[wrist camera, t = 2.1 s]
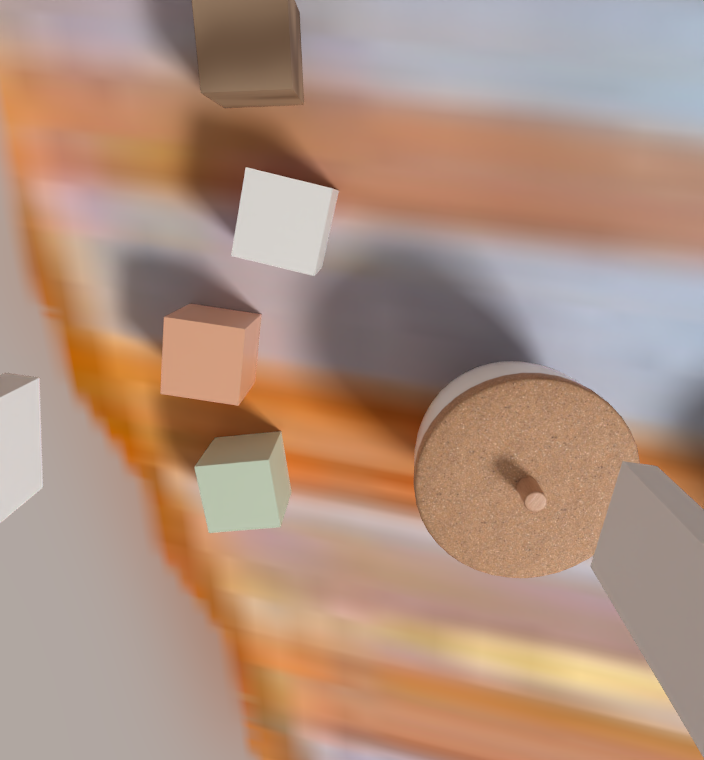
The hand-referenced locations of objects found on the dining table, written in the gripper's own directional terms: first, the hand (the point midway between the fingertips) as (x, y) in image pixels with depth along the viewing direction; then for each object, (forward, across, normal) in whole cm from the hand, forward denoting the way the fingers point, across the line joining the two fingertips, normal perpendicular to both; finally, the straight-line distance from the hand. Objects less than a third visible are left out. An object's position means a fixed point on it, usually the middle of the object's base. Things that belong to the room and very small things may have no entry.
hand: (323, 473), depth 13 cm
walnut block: (+27, -8, +13) cm, 31 cm away
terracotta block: (+27, -9, -5) cm, 29 cm away
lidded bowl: (+27, +11, -8) cm, 30 cm away
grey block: (+27, -5, +4) cm, 28 cm away
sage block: (+27, -6, -14) cm, 31 cm away
